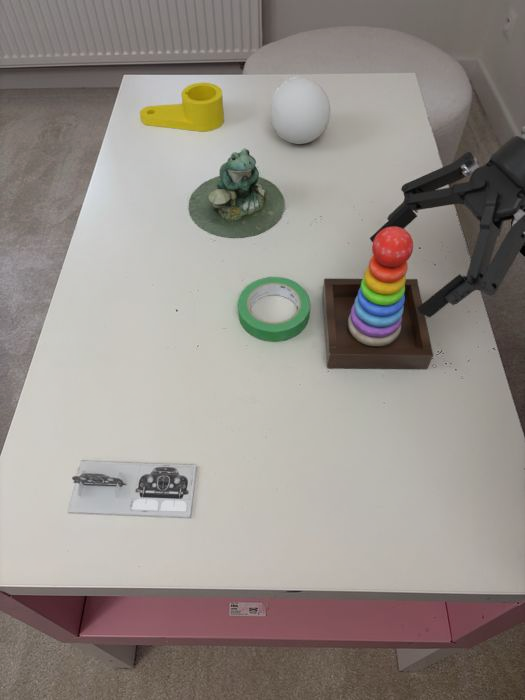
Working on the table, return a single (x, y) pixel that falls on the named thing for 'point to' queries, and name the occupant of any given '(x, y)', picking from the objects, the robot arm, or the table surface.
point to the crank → (189, 110)
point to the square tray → (352, 354)
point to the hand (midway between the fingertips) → (397, 276)
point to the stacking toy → (382, 290)
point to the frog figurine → (237, 200)
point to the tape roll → (274, 329)
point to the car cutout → (133, 489)
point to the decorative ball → (299, 110)
